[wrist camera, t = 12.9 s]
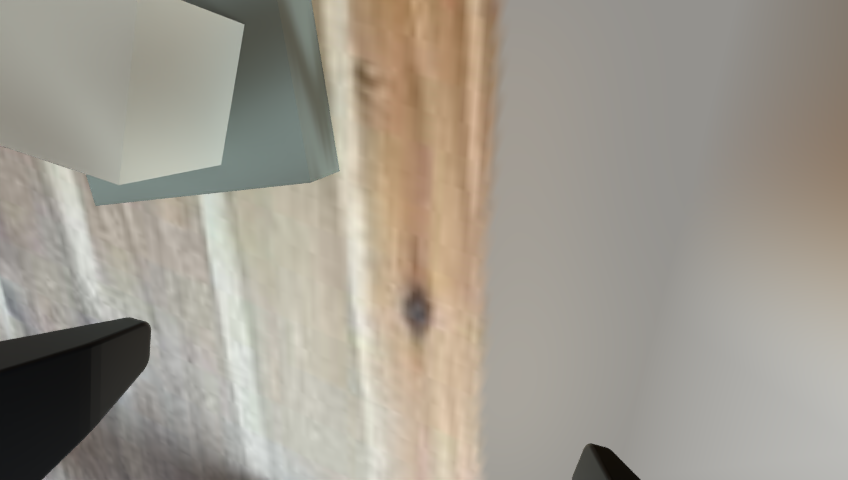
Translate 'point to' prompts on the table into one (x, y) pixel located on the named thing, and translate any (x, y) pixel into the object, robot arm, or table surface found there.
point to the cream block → (117, 85)
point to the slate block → (259, 110)
